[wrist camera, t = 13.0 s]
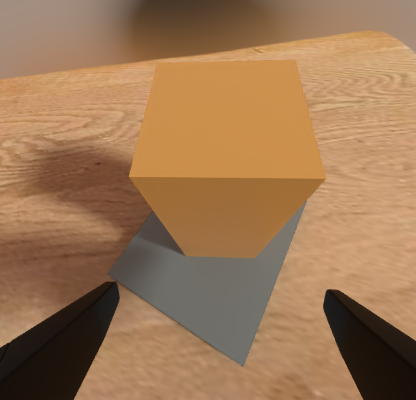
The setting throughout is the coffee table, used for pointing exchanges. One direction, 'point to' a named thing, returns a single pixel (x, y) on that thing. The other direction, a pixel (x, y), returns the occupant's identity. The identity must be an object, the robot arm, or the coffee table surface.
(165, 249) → the post board
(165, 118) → the tall amber pillar
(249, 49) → the coffee table surface
